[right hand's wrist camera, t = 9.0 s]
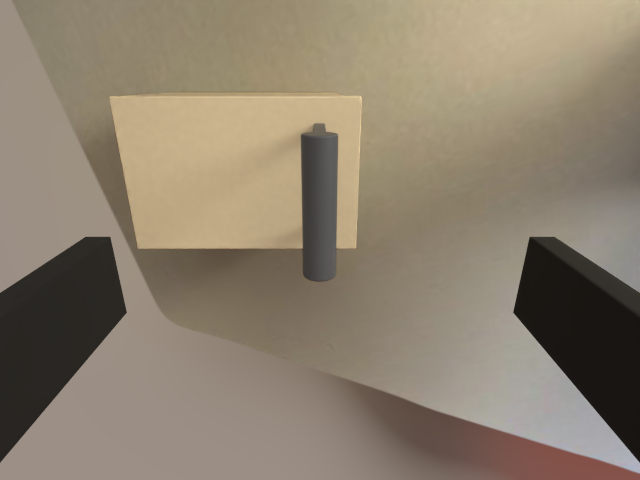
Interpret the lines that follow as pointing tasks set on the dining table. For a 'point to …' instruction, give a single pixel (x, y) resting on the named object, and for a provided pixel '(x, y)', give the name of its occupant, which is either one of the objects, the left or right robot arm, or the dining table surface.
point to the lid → (243, 173)
